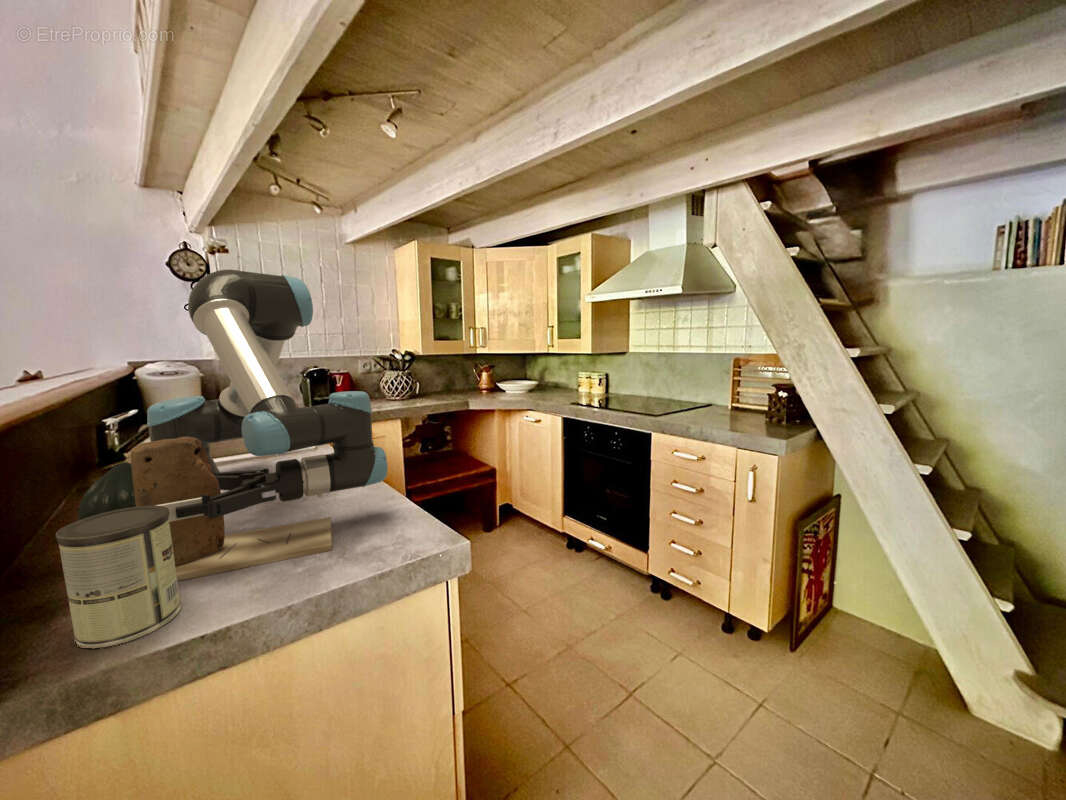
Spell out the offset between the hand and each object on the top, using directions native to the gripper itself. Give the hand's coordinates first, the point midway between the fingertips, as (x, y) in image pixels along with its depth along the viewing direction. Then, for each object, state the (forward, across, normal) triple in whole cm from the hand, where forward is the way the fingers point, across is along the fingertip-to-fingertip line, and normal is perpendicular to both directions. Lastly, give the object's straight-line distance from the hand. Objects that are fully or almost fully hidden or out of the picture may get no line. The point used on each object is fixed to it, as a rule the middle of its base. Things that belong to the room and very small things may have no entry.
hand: (153, 503), depth 69 cm
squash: (+5, +20, -11) cm, 23 cm away
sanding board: (-11, -1, -11) cm, 16 cm away
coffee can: (+2, -16, -11) cm, 20 cm away
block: (-3, 0, -10) cm, 11 cm away
